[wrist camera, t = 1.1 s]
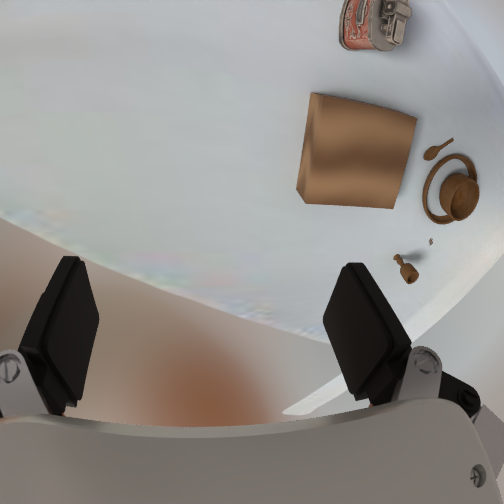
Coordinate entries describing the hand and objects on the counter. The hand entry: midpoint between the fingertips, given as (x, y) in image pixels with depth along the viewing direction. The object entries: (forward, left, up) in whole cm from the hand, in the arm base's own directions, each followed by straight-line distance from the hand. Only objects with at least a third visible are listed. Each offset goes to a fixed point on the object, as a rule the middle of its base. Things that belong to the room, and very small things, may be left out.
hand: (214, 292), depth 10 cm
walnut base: (+1, +17, -25) cm, 30 cm away
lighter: (-15, +15, -25) cm, 33 cm away
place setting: (+7, +33, -26) cm, 42 cm away
